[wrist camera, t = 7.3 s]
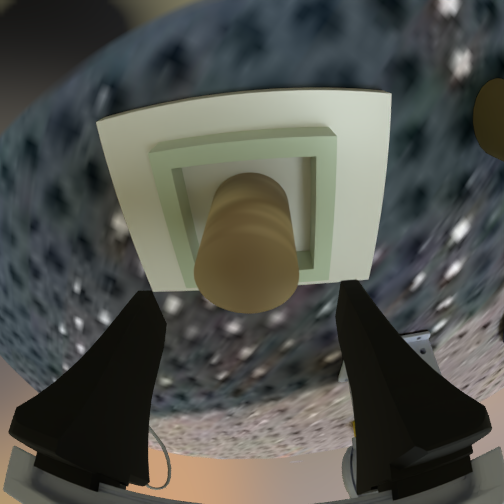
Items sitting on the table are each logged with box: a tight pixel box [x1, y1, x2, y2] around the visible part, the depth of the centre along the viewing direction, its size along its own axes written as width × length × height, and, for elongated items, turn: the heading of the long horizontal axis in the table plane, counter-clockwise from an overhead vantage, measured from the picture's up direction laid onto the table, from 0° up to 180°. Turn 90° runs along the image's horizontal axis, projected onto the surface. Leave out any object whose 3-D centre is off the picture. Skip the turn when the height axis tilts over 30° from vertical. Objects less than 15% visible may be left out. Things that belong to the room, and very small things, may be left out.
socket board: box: [96, 88, 391, 292], centre depth 17 cm, size 16×13×3 cm
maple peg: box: [194, 172, 299, 313], centre depth 15 cm, size 4×4×6 cm
